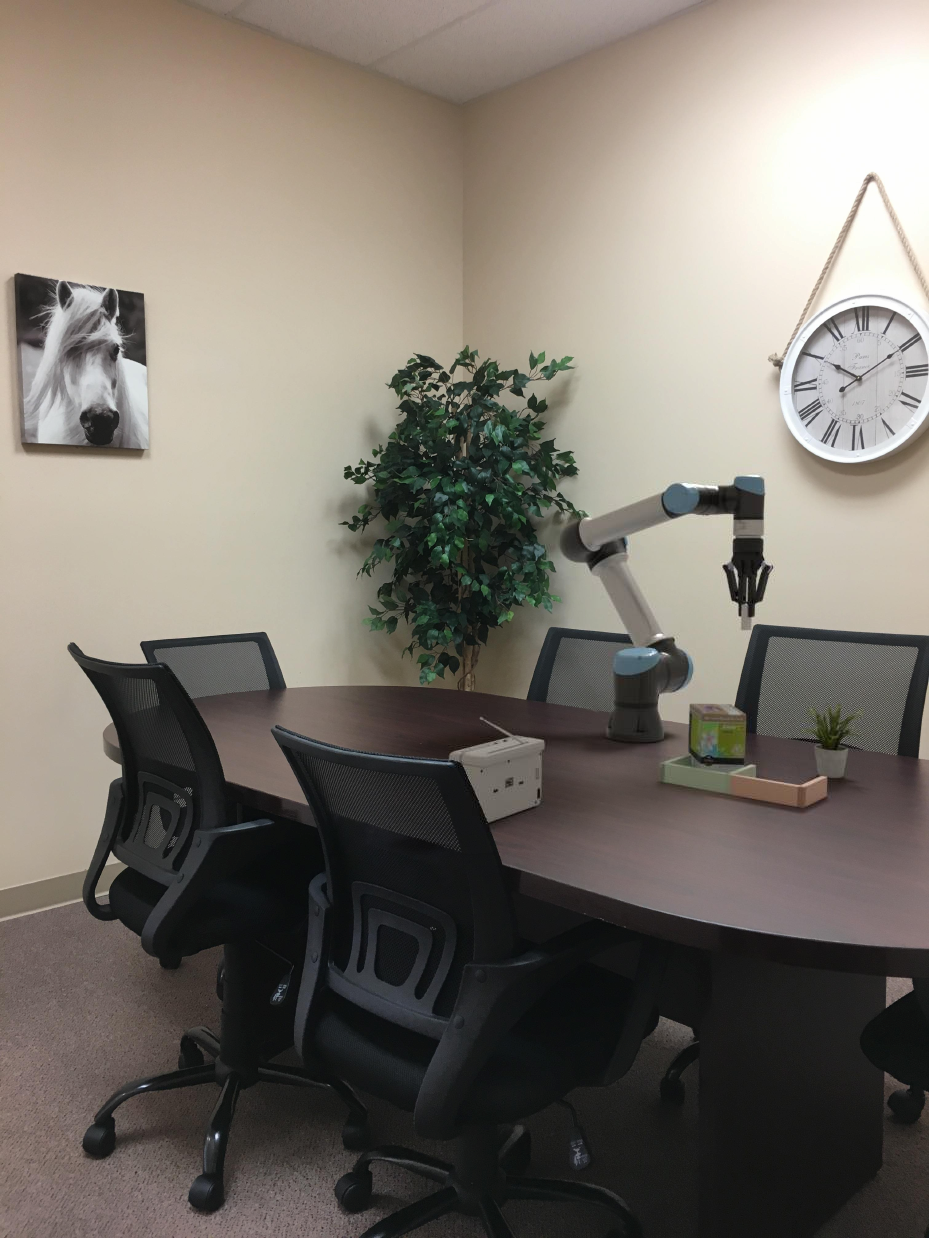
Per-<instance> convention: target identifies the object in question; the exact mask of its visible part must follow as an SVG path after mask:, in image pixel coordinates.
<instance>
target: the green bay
mask: <svg viewBox="0 0 929 1238" xmlns="http://www.w3.org/2000/svg"><path fill="white" fill-rule="evenodd" d="M732 774H736V775H742V776H747V777H753V778H757V765H755V764H748V765H747V766H746V765H745V766H744V767H743V768H740V769H738V770H735V771H732V772H730V773H724V772H718V771H712V770H706V769H701V768H695V767H692V755H688V753H686V754H684V755H681V756H678V757H674V758H671V759H667V760H665V761H662V762H659V782H661V783H667V784H673V785H677V786H683V787H688V788H694V789H699V790H700V789H701V790H703V791H704V790H706V791H709V792H714V793H721V794H726V795H731V794H730V777H731V775H732Z"/></svg>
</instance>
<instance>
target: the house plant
mask: <svg viewBox="0 0 929 1238" xmlns="http://www.w3.org/2000/svg"><path fill="white" fill-rule="evenodd" d="M826 705H827V712H828V718H829V719H828V720H829V722H827V717H826V714H825V713H823V714H822V717H821V715H820V714H819V712H818V711H816V710H815V709H814V708H812V707H810V706H808V709H810V711H812V713H813V715H814V717H815V718H814V717H813V716H812V715H811V714H809V713H808V712H806V714H807V715H808V716H809V717H810V718H811V720H812V721H813V722H814V723H815V725H817V729H816V730H813V729H809V728H808V729H804V730H803V732H810V733H812V734H814V735H815V737H817V738H818V740H819V742H820V744H815V745H814V747H813V749H814V753H815V754H814V755H815V761H816V769H817V775H818V776H819V777H820V776H824V777H827V778H831V779H840V778H843V777H844V773H845V768H846V763H847V759H848V754H849V747H846V746H844V745H843V744H844V743H845V741H844V742H841V741H842V739H844V737H847V736H850V735H851V737H853V736H856V737H858V738H859V739H860V738H862V737H861V736H860V735H858V734H864V733H862V732H858V733H854V732H851V731H852V729H856V728H857V726H856V727H855V726H853V727H849V728H848V729H846V727H847V726H848V724H849V723H850V722H854V721H855V722H856V721H857V722H858V721H859V720H858V719H854V718H857V717H860V716H861V713H864V712H865V710H861V711H858V712H854V713H852V714H851V715H849V716H848V717H847V718H845V719H844V720H842V721H840V719H841V710H842V708H841V704H840V703H838V704H837V707H836V710H835V711H834V713H832V710H831V706H830V705H829V703H828V702H826ZM828 723H829V726H828ZM838 726H839V727H838ZM849 739H850V737H848V738H847V740H849ZM840 742H841V744H840ZM839 744H840V745H839Z"/></svg>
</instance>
